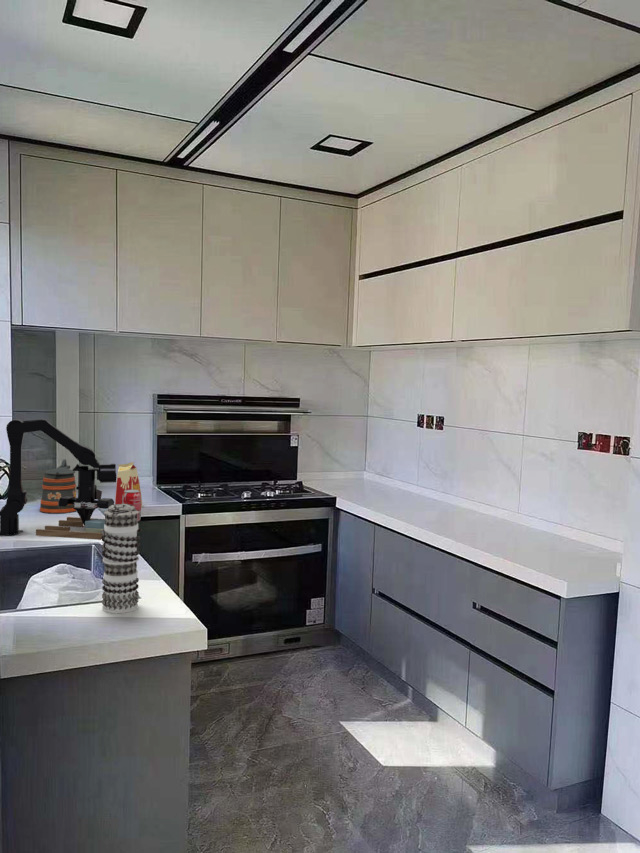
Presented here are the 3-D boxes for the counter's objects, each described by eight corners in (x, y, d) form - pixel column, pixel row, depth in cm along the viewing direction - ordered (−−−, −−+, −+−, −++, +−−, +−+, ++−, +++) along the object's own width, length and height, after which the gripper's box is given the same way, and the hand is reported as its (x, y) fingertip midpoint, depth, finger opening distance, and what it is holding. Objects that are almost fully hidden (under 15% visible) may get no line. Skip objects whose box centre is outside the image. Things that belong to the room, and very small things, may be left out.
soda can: (121, 520, 267) (121, 489, 267) (139, 519, 270) (140, 489, 269) (122, 523, 261) (123, 492, 260) (141, 523, 263) (142, 491, 262)
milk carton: (142, 507, 295) (143, 460, 293) (131, 511, 286) (131, 463, 285) (123, 505, 297) (124, 459, 296) (111, 509, 288) (112, 461, 287)
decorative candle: (111, 599, 172) (112, 501, 171) (146, 603, 171) (147, 503, 169) (93, 611, 163) (94, 507, 162) (129, 615, 162) (130, 510, 160)
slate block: (99, 534, 243) (99, 523, 242) (84, 532, 244) (85, 521, 244) (109, 530, 248) (109, 519, 248) (95, 529, 250) (95, 518, 250)
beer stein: (44, 505, 292) (44, 458, 291) (80, 505, 295) (81, 458, 294) (37, 514, 274) (37, 464, 272) (76, 513, 277) (76, 464, 276)
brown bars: (107, 539, 235) (107, 531, 234) (35, 535, 238) (35, 526, 237) (133, 526, 257) (133, 518, 257) (67, 522, 260) (67, 514, 260)
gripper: (120, 481, 253) (120, 522, 254) (72, 478, 256) (72, 520, 257) (107, 485, 242) (107, 529, 243) (57, 483, 245) (57, 526, 246)
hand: (86, 526), depth 248 cm, fingers closed
